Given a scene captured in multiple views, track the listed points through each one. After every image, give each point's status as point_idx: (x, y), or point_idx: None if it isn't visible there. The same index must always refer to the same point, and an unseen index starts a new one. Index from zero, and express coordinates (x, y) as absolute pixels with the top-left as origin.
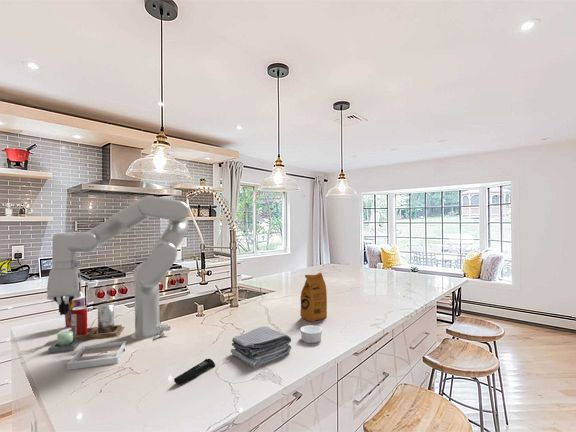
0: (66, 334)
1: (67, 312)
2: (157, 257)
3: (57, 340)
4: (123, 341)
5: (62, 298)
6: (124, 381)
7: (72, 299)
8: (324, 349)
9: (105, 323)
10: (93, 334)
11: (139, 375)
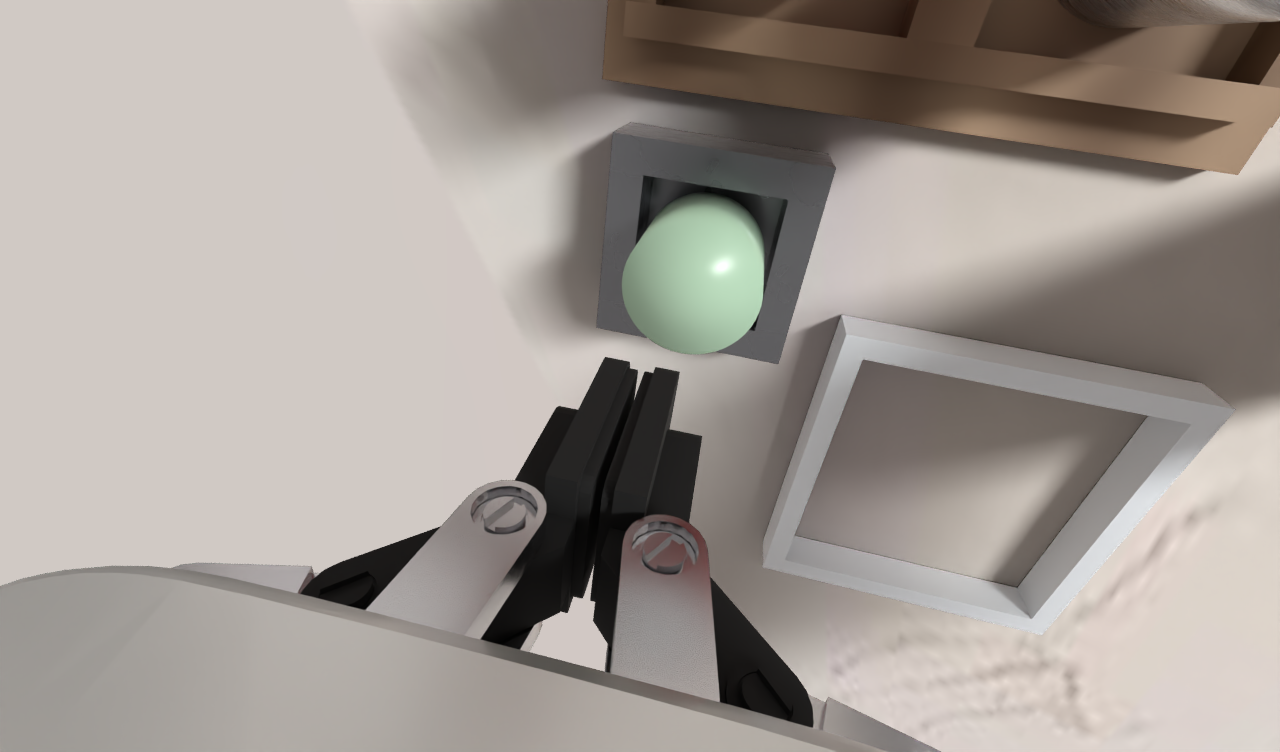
0: (707, 329)
1: (674, 394)
2: None
3: (614, 137)
4: (1204, 407)
5: (493, 597)
6: (999, 746)
7: (749, 651)
8: None
9: (1237, 21)
10: (979, 72)
11: (1077, 743)
